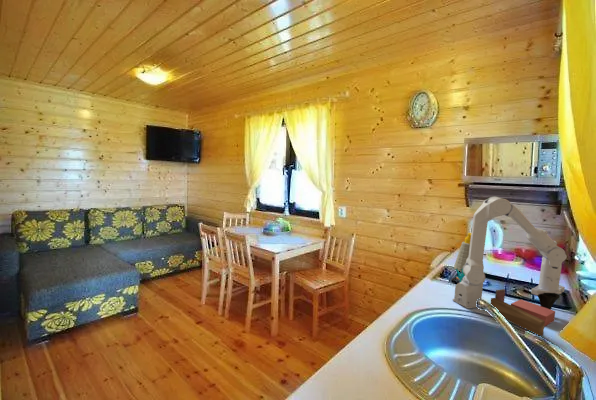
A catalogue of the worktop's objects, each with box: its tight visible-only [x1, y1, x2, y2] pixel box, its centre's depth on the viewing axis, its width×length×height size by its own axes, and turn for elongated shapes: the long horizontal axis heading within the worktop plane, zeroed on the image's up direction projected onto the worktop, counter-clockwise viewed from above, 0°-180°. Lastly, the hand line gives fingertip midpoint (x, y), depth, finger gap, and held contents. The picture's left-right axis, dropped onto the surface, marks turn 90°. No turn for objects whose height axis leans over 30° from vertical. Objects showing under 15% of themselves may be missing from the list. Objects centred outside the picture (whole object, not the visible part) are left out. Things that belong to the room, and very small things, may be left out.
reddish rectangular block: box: [510, 299, 556, 327], centre depth 112 cm, size 8×11×4 cm
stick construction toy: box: [451, 268, 465, 283], centre depth 145 cm, size 12×7×8 cm
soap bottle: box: [453, 232, 471, 273], centre depth 161 cm, size 12×12×20 cm
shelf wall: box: [489, 297, 545, 337], centre depth 107 cm, size 2×18×5 cm, turn 17°
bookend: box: [494, 288, 506, 302], centre depth 116 cm, size 4×1×8 cm, turn 107°
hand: (545, 311), depth 114 cm, fingers closed
